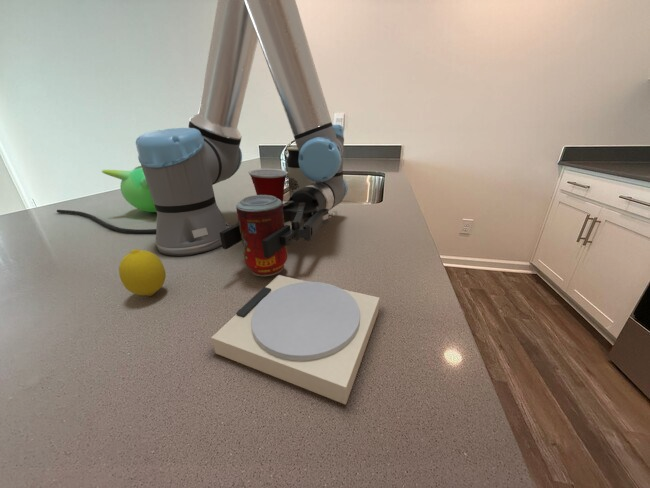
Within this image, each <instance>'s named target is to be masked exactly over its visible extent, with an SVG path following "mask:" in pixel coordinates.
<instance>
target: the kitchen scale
mask: <svg viewBox="0 0 650 488" xmlns="http://www.w3.org/2000/svg"><path fill="white" fill-rule="evenodd" d="M379 310H380V297H379V296H374V295H370V294H365V293H361V292H356V291H351V290H347V289H344V288H341V287H338V286H336V285H334V284H331V283H327V282H321V281H307V280H304V279H303V280H302V279H299V278H294V277H289V276H285V275H281V274H278V275H276V276H275V277H274V278H273V280H271V281H270V282H269V283H268V284H267V285H266V286H263V287H262V288H261V289H260V290H259V291H258V292H257V293H256V294H255V295H254V296H253V297H251V298H250V299H249V300H248V301H247V302H246V303H245V304H244V305H243V306H242V307H241V308H239V310H237V312H236V313H235V315H234V316H232V318H230V319H229V320H228V321H227V322H226V323H225V324H224V325H222V327H221V328H220V329H219V330H218V331H216V332H215V333H214V334H213V335H212V336H211V338H210V339H211V342H212V347H213V349H214V352H215V355H218V356H221V357H224V358H226V359H229V360H232V361H234V362H236V363H239V364H242V365H244V366H246V367H248V368H251V369H254V370H257V371H259V372H261V373H264V374H267V375H269V376H272V377H273V378H276V379H279V380H281V381H285V382H286V383H290V384H291V385H294V386H297V387H300V388H302V389H305V390H307V391H310V392H312V393H315V394H317V395H320V396H322V397H325V398H327V399H329V400H332V401H334V402H338V403H340V404H343V405H345V406H346V405H347V403H348V400H349V397H350V394H351V391H352V389H353V387H354V383H355V380H356V377H357V375H358V371H359V369H360V366H361V364H362V360H363V357H364V355H365V352H366V349H367V346H368V343H369V340H370V337H371V334H372V332H373V328H374V326H375V323H376V320H377V318H378V315H379V312H380V311H379Z"/></svg>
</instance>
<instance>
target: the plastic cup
mask: <svg viewBox="0 0 650 488" xmlns="http://www.w3.org/2000/svg"><path fill="white" fill-rule="evenodd" d="M248 175H249V176H250V179H251V181H252V184H253V187H254V191H255V193H256V194H255V195H271V196H274V197H276V198H278V199H280V200H281V201H282V204H283V203H284V196H285V195H284V194H285V183H286V179H287V177H288V170H283V169H279V168H257V169H252V170H249V171H248Z"/></svg>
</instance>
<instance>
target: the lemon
mask: <svg viewBox="0 0 650 488" xmlns="http://www.w3.org/2000/svg"><path fill="white" fill-rule="evenodd" d="M118 273H119V275H118V276H119V279H120V281H121V283H122V285H123V286H124V288H125V289H126V290H127V291H128V292H130V293H131V294H134V295H137V296H150V297H151V296H153V295H155V294H156V292H158V291H159V290H160V289H161V288H162V287H163V285H164V284H165V281H166V276H167V275H166V270H165V266H164V264H163V262H162V260H161V259H160V258H159V256H158V255H156V254H155V253H154V252H151V251H148V250H145V249H137V248H134V249H132V250H131V251H130V252H128V253H127V254H126V255H125V256H124V257H123V258H121V261H120V263H119V265H118Z"/></svg>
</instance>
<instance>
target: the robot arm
mask: <svg viewBox="0 0 650 488" xmlns="http://www.w3.org/2000/svg"><path fill="white" fill-rule="evenodd" d="M212 26H213V27H212V32H211V38H210V39H211V40H210V44H209V51H208V55H207V61H206V68H205V74H204V81H203V84H202V91H201V96H200V103H199V109H198V112H197V114H195V115H193V116H191V117H189V120H188V121H189V122H188V127H174V128H166V129H165V128H164V129H158V130H151V131H148V132H144V133H142V134H140V135H138V136H137V138H136V139H135V147H136V151H137V160H138V162H139V163H140V166H142V169H143V172H144V175H145V178H146V181H147V184H148V187H149V190H150V193H151V196H152V199H153V202H154V205H155V208H156V212H155V213H156V228H148V229H135V228H123V227H118V226H115V225H112V224H110V223H108V222H106V221H104V220H102V219H101V218H98V217H97V216H95V215H94V214H93V215H92V214H90V213H87V212H83V211H78V210H69V209H57V210H56V212H57V213H59V214H70V215H72V214H73V215H79V216H84V217H87V218H90V219H92V220H93V221H95V222H97V223H98V224H100V225H102V226H104V227H106V228H108V229H111V230H113V231H116V232H120V233H126V234H127V233H128V234H156V235H155V245H156V247H157V249H158V251H159V252H160V253H161V254H163V255H168V256H175V257H179V256H181V257H183V256H192V255H197V254H203V253H206V252H209V251H211V250H215V249H217V248H220V247H222V250H229V249H230V248H232V247H233V246H234V245H237V244H238V243H241V242H242V239H241V232H240V227H239V222H238V223H236V224H233V225H232V226H230V225H229V223H228V222H227V221H226V219H225V217H224V214H223V213H222V212H221V209H220V208H219V207H218V204H217V201H216V196H215V191H214V185H216V184H218V183H221V182H224V181H226V180H229V179H230V178H231V177H233V176H234V175H235V174H236V173H237V172H238V171H239V170H240V168H241V165H242V161H243V154H242V149H241V147H240V146H241V141H242V137H243V136H242V134H241V132H240V130H239V129H238V127H239V126H238V125H239V122H240V117H241V114H242V109H243V106H244V105H243V104H244V100H245V96H246V92H247V88H248V84H249V79H250V76H251V72H252V67H253V63H254V59H255V55H256V52H257V48H258V47H257V46H258V42H259V45H260V48H261V51H262V54H263V56H264V59H265V61H266V65H267V68H268V70H269V72H270V76H271V78H272V81H273V84H274V86H275V90H276V92H277V94H278V97H279V100H280V103H281V105H282V109H283V111H284V114H285V117H286V119H287V122H288V125H289V127H290V130H291V133H292V136H293V139H294V142H295V146H297V148H298V151H299V166H300V169H301V171H302V172H303V174H304V175H305V176H306V177H307V178H309V179H311V180H313V183H312V184H310V185H307V186H306V187H304V188H302V189H299V190H297V191H295V192H294V193H293V194H292V195H291V197H290V196H289V199H288V201H285V202H283V215H284V226H283V227H282V228H280V229H279V230H277V231H276V232H274V233H273V234H271V235H270V236H268V237H267V238H265V239H264V240H262V243H263V251H264V257H265V258H270V257H271V256H272V255H273V254H275V253H276V252H277V251H279V250H280V249H281V248H282V247H284V246H286V247H287V246H289V245H290V244H292V243H293V242H294V241H299V240H300V238H301V239H303V240H304V241H311V240H312V239H313V237H314V236H316V234H317V233H318V231H320V229H321V228H322V227H323V225H325V224H327V223H329V211H331V210H332V209H333V208H335V207H336V206H338V205H339V204H341V203H342V202H343V200H344V199H345V198H346V196H347V194H348V190H349V187H348V183H347V181H346V180H345V178H344V150H345V149H344V144H345V136H344V134H345V133H344V127H343V126H342V125H341V124H333V123H332V122H333V121H332V118H331V115H330V111H329V109H328V104H327V102H326V97H325V94H324V92H323V88H322V85H321V81H320V78H319V75H318V72H317V68H316V65H315V61H314V58H313V55H312V52H311V48H310V45H309V42H308V38H307V35H306V31H305V28H304V24H303V21H302V18H301V15H300V10H299V8H298V5H297V1H296V0H217V3H216V8H215V15H214V20H213V25H212ZM288 222H290V223H291V225H290V224H285V223H288Z"/></svg>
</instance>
